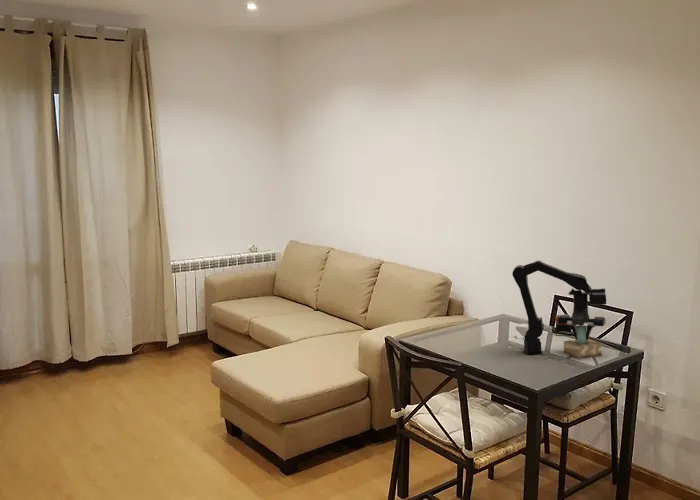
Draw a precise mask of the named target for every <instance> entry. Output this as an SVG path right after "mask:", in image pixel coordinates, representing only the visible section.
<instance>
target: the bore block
mask: <svg viewBox="0 0 700 500" xmlns="http://www.w3.org/2000/svg"><path fill="white" fill-rule="evenodd" d="M602 350H603V349H602V343H600V342H597V341H595V340H592V339H589V338H588V340H587V344H582V345H580V344H577V340H576V339H571V340H564V341H563V352H564V354H567V355H568V356H571V357H574V358H576V359H578V360H580V359H588V358H593V357H600V356H602V355H603V354H602V353H603V352H602Z"/></svg>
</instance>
